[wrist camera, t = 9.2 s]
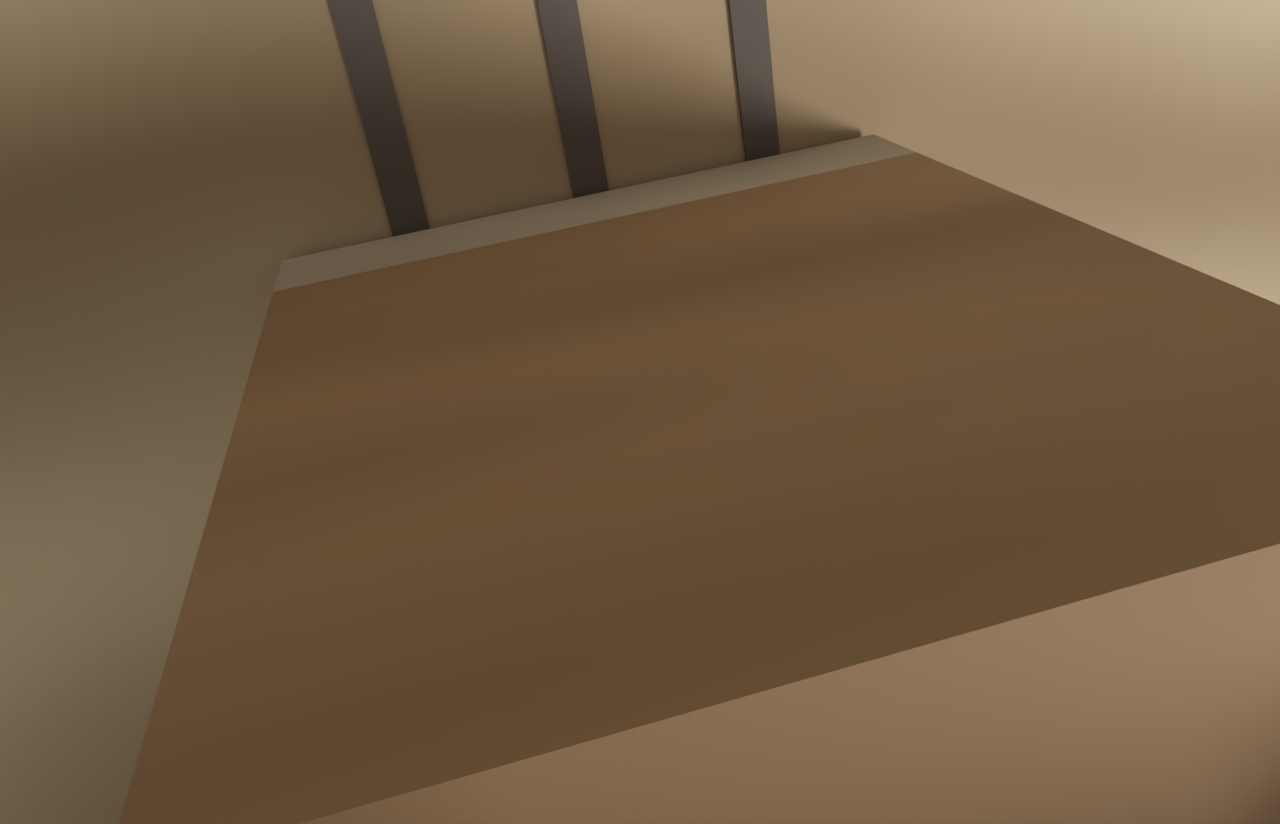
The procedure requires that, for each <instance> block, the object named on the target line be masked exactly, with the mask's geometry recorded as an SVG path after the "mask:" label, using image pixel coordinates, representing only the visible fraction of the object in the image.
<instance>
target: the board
mask: <svg viewBox="0 0 1280 824" xmlns="http://www.w3.org/2000/svg"><path fill="white" fill-rule="evenodd" d="M872 134H874V135H877V136H879V137H881V138H884V139H886V140H888V141H891V142H893V143H896V144H898V145H900V146H903V147H905V148H908V149H910V150H912V151H915V152H917V153H919V154H922V155H924V156H927V157H929V158H931V159H934V160H936V161H938V162H941V163H943V164H946V165H948V166H950V167H953V168H955V169H958V170H960V171H962V172H965V173H967V174H969V175H972V176H974V177H977V178H979V179H981V180H984V181H986V182H988V183H991V184H993V185H996V186H998V187H1000V188H1003V189H1005V190H1008V191H1010V192H1012V193H1015V194H1017V195H1019V196H1022V197H1024V198H1027V199H1029V200H1031V201H1034V202H1036V203H1038V204H1041V205H1043V206H1046V207H1048V208H1050V209H1053V210H1055V211H1057V212H1060V213H1062V214H1065V215H1067V216H1069V217H1072V218H1074V219H1077V220H1079V221H1081V222H1084V223H1086V224H1088V225H1091V226H1093V227H1096V228H1098V229H1100V230H1103V231H1105V232H1107V233H1110V234H1112V235H1115V236H1117V237H1119V238H1122V239H1124V240H1127V241H1129V242H1131V243H1134V244H1136V245H1138V246H1141V247H1143V248H1146V249H1148V250H1150V251H1153V252H1155V253H1157V254H1160V255H1162V256H1165V257H1167V258H1169V259H1172V260H1174V261H1176V262H1179V263H1181V264H1184V265H1186V266H1188V267H1191V268H1193V269H1196V270H1198V271H1200V272H1203V273H1205V274H1207V275H1210V276H1212V277H1215V278H1217V279H1219V280H1222V281H1224V282H1226V283H1229V284H1231V285H1234V286H1236V287H1238V288H1241V289H1243V290H1246V291H1248V292H1250V293H1253V294H1255V295H1257V296H1260V297H1262V298H1265V299H1267V300H1269V301H1272V302H1274V303H1276V304H1279V305H1280V0H0V824H119V822H120V818H121V815H122V811H123V808H124V804H125V801H126V798H127V794H128V791H129V787H130V784H131V780H132V777H133V773H134V770H135V766H136V763H137V760H138V756H139V753H140V749H141V746H142V742H143V739H144V735H145V732H146V728H147V725H148V722H149V718H150V715H151V711H152V708H153V704H154V701H155V697H156V694H157V690H158V687H159V684H160V680H161V677H162V673H163V670H164V666H165V663H166V659H167V656H168V652H169V649H170V646H171V642H172V639H173V635H174V632H175V628H176V625H177V621H178V618H179V615H180V611H181V608H182V604H183V601H184V597H185V594H186V590H187V587H188V583H189V580H190V577H191V573H192V570H193V566H194V563H195V559H196V556H197V552H198V549H199V545H200V542H201V539H202V535H203V532H204V528H205V525H206V521H207V518H208V514H209V511H210V507H211V504H212V501H213V497H214V494H215V490H216V487H217V483H218V480H219V476H220V473H221V469H222V466H223V463H224V459H225V456H226V452H227V449H228V445H229V442H230V438H231V435H232V432H233V428H234V425H235V421H236V418H237V414H238V411H239V407H240V404H241V400H242V397H243V394H244V390H245V387H246V383H247V380H248V376H249V373H250V369H251V366H252V362H253V359H254V356H255V352H256V349H257V345H258V342H259V338H260V335H261V331H262V328H263V324H264V321H265V318H266V314H267V311H268V307H269V304H270V300H271V297H272V293H273V290H274V287H275V283H276V280H277V276H278V273H279V269H280V266H281V262H282V260H286V259H291V258H295V257H300V256H305V255H309V254H314V253H319V252H323V251H328V250H333V249H337V248H342V247H347V246H352V245H356V244H361V243H366V242H370V241H375V240H380V239H384V238H389V237H394V236H398V235H403V234H408V233H413V232H417V231H422V230H427V229H431V228H436V227H441V226H445V225H450V224H455V223H459V222H464V221H469V220H474V219H478V218H483V217H488V216H492V215H497V214H502V213H506V212H511V211H516V210H520V209H525V208H530V207H535V206H539V205H544V204H549V203H553V202H558V201H563V200H567V199H572V198H577V197H581V196H586V195H591V194H596V193H600V192H605V191H610V190H614V189H619V188H624V187H628V186H633V185H638V184H642V183H647V182H652V181H657V180H661V179H666V178H671V177H675V176H680V175H685V174H689V173H694V172H699V171H703V170H708V169H713V168H718V167H722V166H727V165H732V164H736V163H741V162H746V161H750V160H755V159H760V158H764V157H769V156H774V155H779V154H783V153H788V152H793V151H797V150H802V149H807V148H811V147H816V146H821V145H825V144H830V143H835V142H840V141H844V140H849V139H854V138H858V137H863V136H868V135H872Z"/></svg>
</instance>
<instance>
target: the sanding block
mask: <svg viewBox="0 0 1280 824" xmlns="http://www.w3.org/2000/svg"><path fill="white" fill-rule="evenodd" d="M119 824H1280V305H1279V304H1276V303H1274V302H1272V301H1269V300H1267V299H1265V298H1262V297H1260V296H1257V295H1255V294H1253V293H1250V292H1248V291H1246V290H1243V289H1241V288H1238V287H1236V286H1234V285H1231V284H1229V283H1226V282H1224V281H1222V280H1219V279H1217V278H1215V277H1212V276H1210V275H1207V274H1205V273H1203V272H1200V271H1198V270H1196V269H1193V268H1191V267H1188V266H1186V265H1184V264H1181V263H1179V262H1176V261H1174V260H1172V259H1169V258H1167V257H1165V256H1162V255H1160V254H1157V253H1155V252H1153V251H1150V250H1148V249H1146V248H1143V247H1141V246H1138V245H1136V244H1134V243H1131V242H1129V241H1127V240H1124V239H1122V238H1119V237H1117V236H1115V235H1112V234H1110V233H1107V232H1105V231H1103V230H1100V229H1098V228H1096V227H1093V226H1091V225H1088V224H1086V223H1084V222H1081V221H1079V220H1077V219H1074V218H1072V217H1069V216H1067V215H1065V214H1062V213H1060V212H1057V211H1055V210H1053V209H1050V208H1048V207H1046V206H1043V205H1041V204H1038V203H1036V202H1034V201H1031V200H1029V199H1027V198H1024V197H1022V196H1019V195H1017V194H1015V193H1012V192H1010V191H1008V190H1005V189H1003V188H1000V187H998V186H996V185H993V184H991V183H988V182H986V181H984V180H981V179H979V178H977V177H974V176H972V175H969V174H967V173H965V172H962V171H960V170H958V169H955V168H953V167H950V166H948V165H946V164H943V163H941V162H938V161H936V160H934V159H931V158H929V157H927V156H924V155H922V154H919V153H917V152H915V151H912V150H910V149H908V148H905V147H903V146H900V145H898V144H896V143H893V142H891V141H888V140H886V139H884V138H881V137H879V136H877V135H874V134H872V135H868V136H863V137H858V138H854V139H849V140H844V141H840V142H835V143H830V144H825V145H821V146H816V147H811V148H807V149H802V150H797V151H793V152H788V153H783V154H779V155H774V156H769V157H764V158H760V159H755V160H750V161H746V162H741V163H736V164H732V165H727V166H722V167H718V168H713V169H708V170H703V171H699V172H694V173H689V174H685V175H680V176H675V177H671V178H666V179H661V180H657V181H652V182H647V183H642V184H638V185H633V186H628V187H624V188H619V189H614V190H610V191H605V192H600V193H596V194H591V195H586V196H581V197H577V198H572V199H567V200H563V201H558V202H553V203H549V204H544V205H539V206H535V207H530V208H525V209H520V210H516V211H511V212H506V213H502V214H497V215H492V216H488V217H483V218H478V219H474V220H469V221H464V222H459V223H455V224H450V225H445V226H441V227H436V228H431V229H427V230H422V231H417V232H413V233H408V234H403V235H398V236H394V237H389V238H384V239H380V240H375V241H370V242H366V243H361V244H356V245H352V246H347V247H342V248H337V249H333V250H328V251H323V252H319V253H314V254H309V255H305V256H300V257H295V258H291V259H286V260H282V262H281V266H280V269H279V273H278V276H277V280H276V283H275V287H274V290H273V293H272V297H271V300H270V304H269V307H268V311H267V314H266V318H265V321H264V324H263V328H262V331H261V335H260V338H259V342H258V345H257V349H256V352H255V356H254V359H253V362H252V366H251V369H250V373H249V376H248V380H247V383H246V387H245V390H244V394H243V397H242V400H241V404H240V407H239V411H238V414H237V418H236V421H235V425H234V428H233V432H232V435H231V438H230V442H229V445H228V449H227V452H226V456H225V459H224V463H223V466H222V469H221V473H220V476H219V480H218V483H217V487H216V490H215V494H214V497H213V501H212V504H211V507H210V511H209V514H208V518H207V521H206V525H205V528H204V532H203V535H202V539H201V542H200V545H199V549H198V552H197V556H196V559H195V563H194V566H193V570H192V573H191V577H190V580H189V583H188V587H187V590H186V594H185V597H184V601H183V604H182V608H181V611H180V615H179V618H178V621H177V625H176V628H175V632H174V635H173V639H172V642H171V646H170V649H169V652H168V656H167V659H166V663H165V666H164V670H163V673H162V677H161V680H160V684H159V687H158V690H157V694H156V697H155V701H154V704H153V708H152V711H151V715H150V718H149V722H148V725H147V728H146V732H145V735H144V739H143V742H142V746H141V749H140V753H139V756H138V760H137V763H136V766H135V770H134V773H133V777H132V780H131V784H130V787H129V791H128V794H127V798H126V801H125V804H124V808H123V811H122V815H121V818H120V822H119Z"/></svg>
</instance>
